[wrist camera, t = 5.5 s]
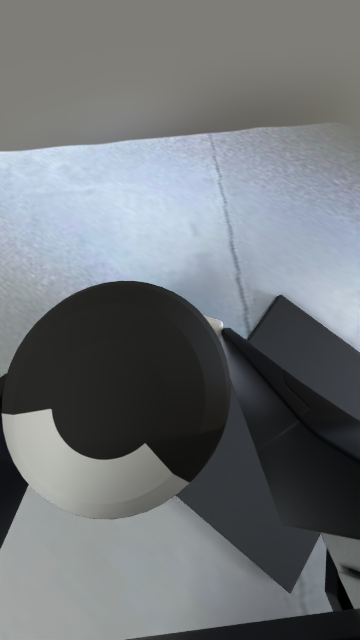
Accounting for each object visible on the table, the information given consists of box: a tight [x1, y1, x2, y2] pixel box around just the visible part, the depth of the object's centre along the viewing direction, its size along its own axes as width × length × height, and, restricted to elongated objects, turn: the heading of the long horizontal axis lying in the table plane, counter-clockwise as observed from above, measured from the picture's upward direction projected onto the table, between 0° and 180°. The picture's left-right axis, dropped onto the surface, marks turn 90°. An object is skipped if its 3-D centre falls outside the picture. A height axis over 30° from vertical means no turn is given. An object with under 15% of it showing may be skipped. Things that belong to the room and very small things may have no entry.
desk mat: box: [176, 295, 360, 593], centre depth 14 cm, size 22×15×1 cm
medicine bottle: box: [2, 281, 231, 519], centre depth 9 cm, size 7×7×12 cm
